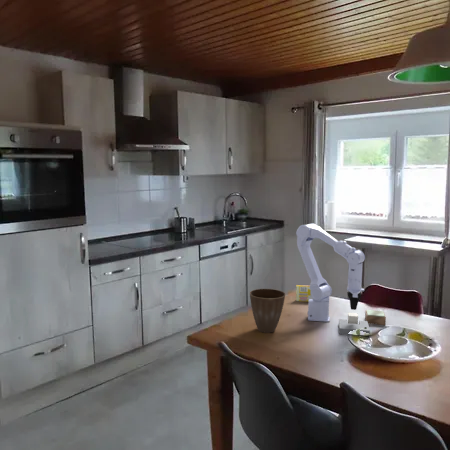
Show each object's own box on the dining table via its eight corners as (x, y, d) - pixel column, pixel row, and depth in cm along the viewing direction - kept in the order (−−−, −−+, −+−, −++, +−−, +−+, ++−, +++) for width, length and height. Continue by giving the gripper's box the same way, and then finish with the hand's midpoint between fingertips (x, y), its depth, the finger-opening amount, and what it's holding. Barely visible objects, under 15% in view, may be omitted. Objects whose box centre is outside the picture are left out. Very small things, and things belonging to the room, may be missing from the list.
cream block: (357, 326, 196) (358, 316, 196) (348, 325, 197) (348, 315, 196) (356, 323, 200) (357, 313, 200) (347, 322, 201) (348, 312, 201)
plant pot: (286, 325, 196) (287, 290, 194) (281, 337, 182) (282, 299, 180) (253, 322, 200) (253, 287, 198) (245, 334, 186) (246, 296, 184)
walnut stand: (366, 323, 199) (366, 314, 199) (365, 318, 207) (365, 309, 207) (385, 325, 197) (385, 316, 197) (383, 319, 205) (383, 310, 205)
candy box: (327, 301, 234) (327, 285, 233) (327, 302, 232) (328, 286, 231) (295, 300, 236) (296, 284, 235) (296, 301, 234) (296, 285, 233)
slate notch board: (369, 336, 184) (369, 330, 183) (339, 334, 186) (339, 328, 186) (367, 326, 195) (367, 321, 195) (338, 324, 198) (338, 319, 198)
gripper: (365, 283, 185) (364, 315, 187) (363, 275, 199) (361, 305, 201) (348, 282, 187) (346, 313, 189) (346, 274, 201) (345, 303, 203)
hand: (353, 309), depth 195 cm, fingers closed
